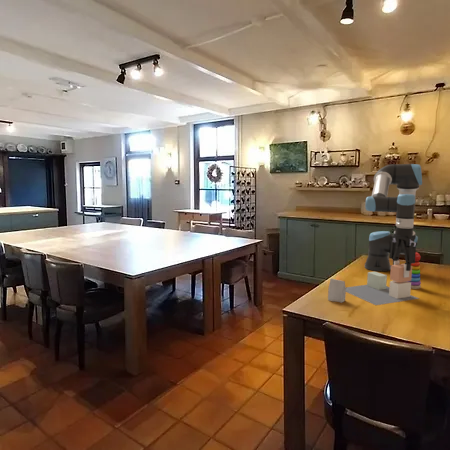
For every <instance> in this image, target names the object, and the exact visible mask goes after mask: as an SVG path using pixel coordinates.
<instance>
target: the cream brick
mask: <svg viewBox="0 0 450 450" xmlns="http://www.w3.org/2000/svg"><path fill="white" fill-rule="evenodd" d="M389 287H390V289H389V295H390V296H392V297H395V298H397V299H398V298H404V297H410V295H411V290H412V289H411V282H408V281H404V282H396V281H393V280H390V281H389Z"/></svg>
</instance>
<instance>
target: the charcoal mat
mask: <svg viewBox="0 0 450 450" xmlns="http://www.w3.org/2000/svg"><path fill="white" fill-rule="evenodd" d="M345 288H346V293H348V294H350V295H352V296H354V297H357V298H358V299H361V300H363V301H365V302H368V303H370V304H371V305H375V306H380V305H386V304H394V303H400V302H406V301H412V300H419V299H420V298H419V297H417V296H414V295H411V294H410V297H404V298H398V299H397V298H395V297H392V296H390V295H389V289H390V286H387V285H386V289H381V290H378V289H375V288H372V287H370V286H367V284H362V285H353V286H348V287H346V286H345Z"/></svg>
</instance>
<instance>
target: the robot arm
mask: <svg viewBox="0 0 450 450" xmlns="http://www.w3.org/2000/svg"><path fill="white" fill-rule="evenodd" d="M422 175H423V174H422V166H421V164H417V163H416V164H414V163H406V164H405V163H401V164H397V163H396V164H387V165H385V166H383V167H381V168H380V169H378V170H377V171H376V173H375V174H374V176H373V183H374V184H373V189H372V193H371V195H370V196H367V197H366V198H365V207H364V208H365V211H367V212H373V213H374V212H380V213H382V212H383V213H396V215H395V226H396V227H395V228H394V231H393V234H392V233H391V232H390V231H387V230H386V231H385V230H382V231H378V230H377V231H373V232H371V233H370V234H369V238H368V254H367V258H366V261H365V263H364V268H365V269H366V270H370V271H372V272H389V271H390V272H391V265H397V264H400V259H399V258H400V255H404V261H405V263H403V264H404V274H403V277H404V278H405V277H409V271H410V270H411V264H412V263H415V256H416V252H417V246H418V239H419V236H417V235H416V231H414V222H415V209H416V193H417V192H416V191H417V190H419V189H420V186H422V185H423V176H422ZM390 185H395V186H396V189H397V190H398V195H397V196H389V195H388V194H389V187H390ZM390 259H392V264H391V262H390Z"/></svg>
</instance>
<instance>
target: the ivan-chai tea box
mask: <svg viewBox="0 0 450 450" xmlns="http://www.w3.org/2000/svg"><path fill="white" fill-rule="evenodd" d="M346 293H347V292H346V281H345V280H341V279H336V278H335V279H334V278H330V279H329V284H328V293H327V301H330V302H335V303H336V302H338V303H344V302H345V301H346V296H347V295H346Z"/></svg>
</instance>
